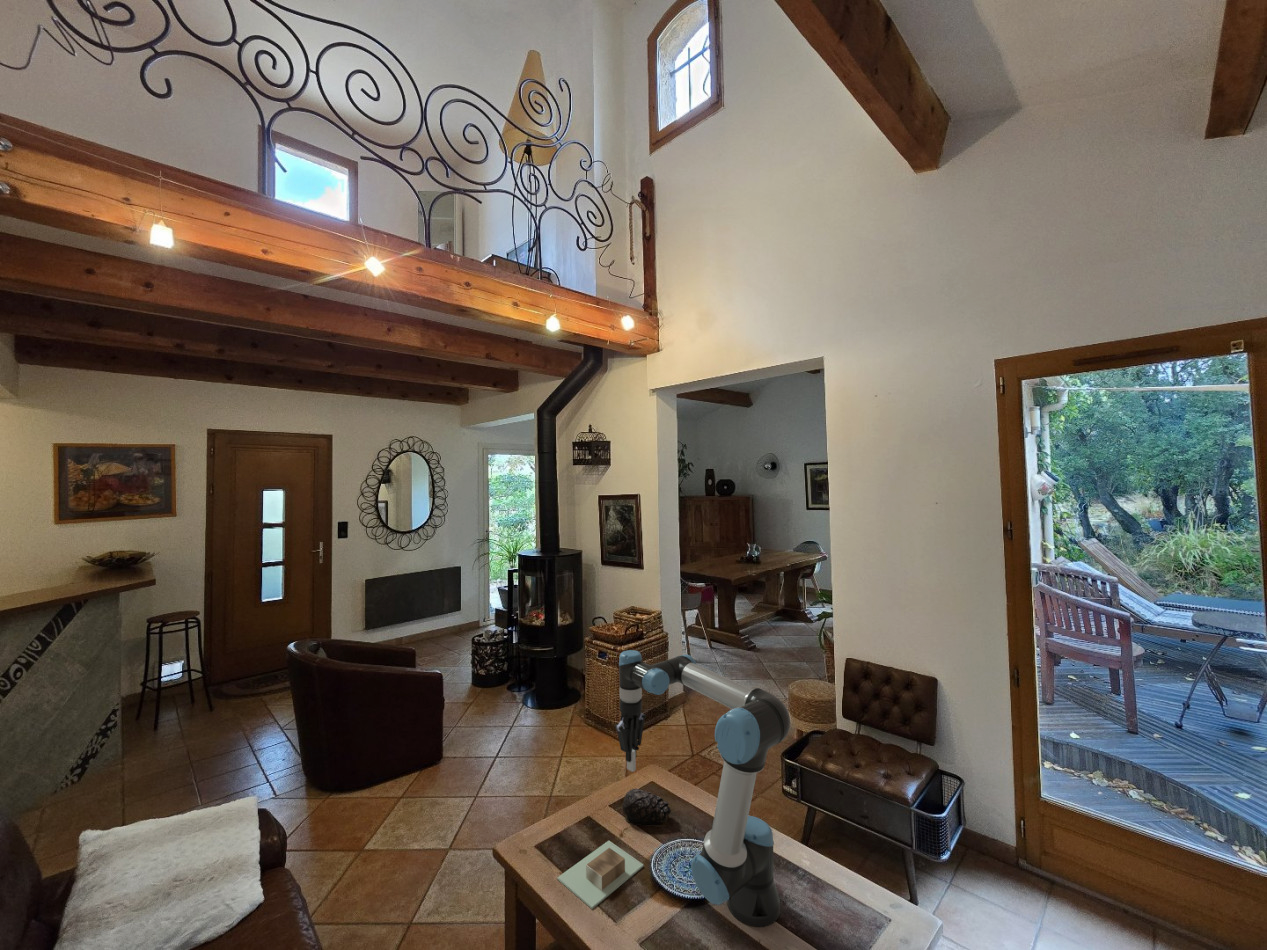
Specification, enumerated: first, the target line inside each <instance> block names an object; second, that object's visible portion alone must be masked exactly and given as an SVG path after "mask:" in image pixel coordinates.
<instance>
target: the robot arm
mask: <svg viewBox="0 0 1267 950" xmlns="http://www.w3.org/2000/svg"><path fill="white" fill-rule="evenodd" d="M618 661H619V662H618V675H619V677H618V678H619V679H618V680H619V682H618V683H619V711H620V713H621V715H620V718H619V719H620V721H619V722H618V724H617V723H616V724H615V725H614V728H615V730H616V731H617V732H616V733H617V737H618V742H619V747H620V750H621V751H622V752H624V753H625V761H626V769H627V770H628V771H629V772H632V773H634V772H635V771H637V770H636V765H637V764H636V762H637V761H636V759H637V751H639V749H640V747H639V746H641V745H642V739H643V731H644V724H645V720H646V718H647V715H646V714H645V713H642V710H643V699H642V698H643V690H645V691H646V692H647V693H649V694H654V695H656V696H657V695H658V696H661V695H663V694H664V693H665V692H666V691H667V690H668V688H669V687H670V685H673V684H677V683H679V684H682V685H684V686H686V687H688V688H690V689H692V690H694V691H695V692H698V693H699V694H702V695H703V696H705V697H708V698H709V699H712V700H713V701H715V702H717V703H720V704H721V705H723V706H725V707H726V708H729V711H727V712H726V713H724V714H722V716H720V718H719V719H718V720H717V722H716V725H715V727H714V740H715V742H716V743H717V745H716V748H717V749H718V752H719V755H720V757H721V759H722V760H723V766H722V771H721V777H720V783H719V789H718V793H717V798H716V803H715V804H716V805H715V809H714V810H715V811H714V816H713V822H712V827H711V829H710V830H709V831H707V832H706V834H705V836H704V839H703V843H702V849H701V852H700V853H697V854H695V856H694V857H693V858H692V860H691V864H690V865H691V866H690V867H691V874H692V878H693V880H694V882H695V884H696V887H697V889H698V891H699V892H700V893H701V895H702V896H703V897H704V898H705V900H707V902H709V903H711V904H713V905H717V906H720V905H722V904H723V903H725V902H726V903H727V904H726V905H727V909H728V910H729V911H730V912H731V914H732V915H733V916H734V917H735V918H736V919H737V920H738V921H740V922H741V923H743V924H744V925H745V924H746V925H748V926H751V927H758V928H759V927H768V926H771V925H772V924H773V923H776V921H777V920H778V919H779V917H780V914H781V897H780V895H779V892H778V890H777V889H778V888H777V886H776V883H775V878H774V871H775V870H774V869H775V868H774V864H775V863H774V844H775V842H774V835H773V830H772V828H771V826H770V825H769V824H768V823H767V822H766V821H764V820H763V819H761V818H759V817H757V816H753V815H750V814H749V813H750V809H751V805H752V799H753V795H754V789H755V783H756V778H757V774H759V773H760V772H761V771H763V769H764V768H765V764H766V760H767V756H768V751H769V750H770V749H771V748H773V747H775V746H776V745H779V744H780V743H782V742H783V741H784V740H785V738H786V737H787V736H788V734H789V732H790V729H791V717H790V712H789V710H788V709H787V706H786V704H785V703H784V702H783V701H782V700H781V699H780V698H778V697H777V696H775V695H774V694H772V693H771V692H770V691H767V690H764V689H763V688H760V687H755V688H751V687H749V686H746V685H745V684H744V685H743V684H741V683H739V682H738V681H735V680H732V679H730V678H728V677H726V676H724V675H722V674H719V673H717V672H715V671H712V670H710V669H708V668H705V667H703V666H701V665H698V664H697V662H696V660H695V659H694V658H693V657H692V655H689V654H683V655H678V656H675V657H673V658H670V659H666V660H664V661H663V660H662V661H660V662H657V663H653V664H649V663H646V662H644V661H643V658H642V654H641V652H640V651H639V650H635V649H634V650H633V649H629V650H623V651H622V652H621V653H620V654H619V660H618Z"/></svg>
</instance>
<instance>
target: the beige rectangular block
mask: <svg viewBox="0 0 1267 950" xmlns="http://www.w3.org/2000/svg"><path fill="white" fill-rule="evenodd" d="M624 872H625V858H623V857H622V856H620V855H619V854H618V853H616V852H615V851H613V850H612V849H610V848H608V849H607V850H605V851H604V852H603V853H601V854H600V855H599V856H597V857H596V858H595V859H593V860H592V861H591V862H589V863H588V864H587V865H586V878H587V879H588V880H589V881H590V882H592V883H593V884H594V885H595V886H596V887H598V888H599V889H600V890H601V891H602V890H603V889H604V888H605V887H607V886H608V885H609V884H610V883H611V882H613V881H614V880H615V879H616V878H618V877H619V876H620V875H621V874H623V873H624Z"/></svg>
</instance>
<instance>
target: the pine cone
mask: <svg viewBox="0 0 1267 950" xmlns="http://www.w3.org/2000/svg"><path fill="white" fill-rule="evenodd" d="M621 805H622V809H621V810H622V811H623V814H624V815H625V818H624V820H625V821H626V823H629V824H631V825H636V826H643V827H644V826H645V827H666V826H669V823H668V824H667V820H669V818H670V814H671V812H672V809H671V807H670V806H669V803H668V802H667V801H665V800H663V798H662V797H660V796H659V795H656V794H653V793H652V792H649V791H646V790H644V789H643V790H642V789H640V788H639V789H638V788H632V789H630V790H628V791H627V793H626V794H625V795H624V799H623V803H622V804H621Z"/></svg>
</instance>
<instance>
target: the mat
mask: <svg viewBox="0 0 1267 950" xmlns="http://www.w3.org/2000/svg"><path fill="white" fill-rule="evenodd" d="M608 848H610V849H612V850H613V851H615V852H616V853H618V854H619V855H620V856H622V857H623V858H625V872H624V873H623V874H621V875H620V876H619V877H618V878H616V879H615V880H614V881H613V882H611V883H610V884H609V885H608V886H607V887H605V888H604V889H603V890H602V891H601V890H600V889H599V888H598V887H596V886H595V885H594V884H593V883H592V882H590V881H589V880H588V879H587V878H586V865H587V864H588V863H589V862H591V861H592V860H593V859H595V858H596V857H597V856H599V855H600V854H601V853H603V852H604V851H605V850H607V849H608ZM643 867H644V863H642V862H641V861H639V859H636V858H635V857H633V856H632V855H631V854H629V853H628V852H626V851H625V850H624V849H622V848H620V847H619V846H618V845H616V844H614V843H613V842H612V841H610V840H607V841H605V843H603V844H601V845H600V846H599V847H597V848H596V849H595V850H593V851H591V852H590V853H589V854H588V855H587V856H585V857H584V858H582V859H581V860H580V861H578V862H577V863H575V864H574V865H573V866H571V867H570V868H569V869H567V870H566V871H564V872H563V873H562V874H560V875H559V876H558V877H557V878H556V879H557V881H559V882H560V883H561V884H562V885H563V886H564V887H565V888H567V889H568V890H569V891H570V892H571V893H573V895H574V896H576V897H577V898H578V899H579V900H580V901H581V902H583V903H584V904H585V905H587V907H588V908H590V909H591V910H593V909H595V908H596V907H597V906H598V905H599V904H600V903H602V902H603V901H604V900H605V899H607V897H609V896H610V895H611V894H612V893H614V892H615V891H616V890H617V889H619V888H620V886H622V885H623V884H624V883H625V882H627V881H628V880H629V879H630V878H632V877H634V875H635V874H637V873H638V872H639V871H640V870H641V869H642V868H643Z"/></svg>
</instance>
